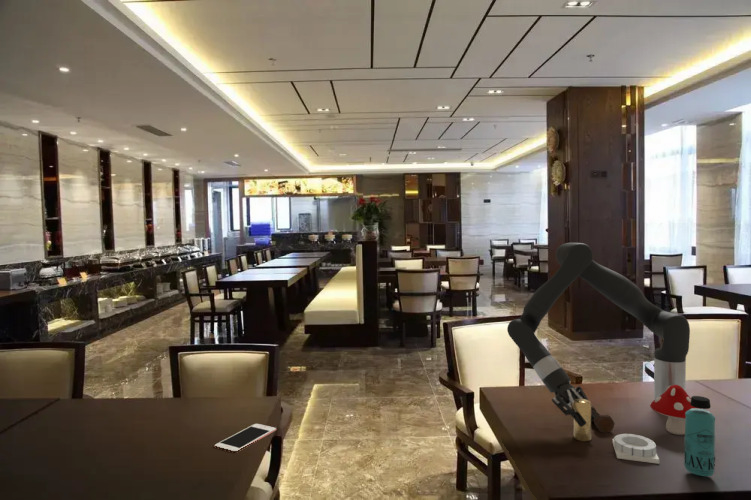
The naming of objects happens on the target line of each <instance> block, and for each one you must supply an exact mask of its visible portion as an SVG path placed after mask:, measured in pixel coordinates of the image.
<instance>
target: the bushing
mask: <svg viewBox="0 0 751 500" xmlns="http://www.w3.org/2000/svg"><path fill="white" fill-rule="evenodd" d="M574 403H575V407H576V409H577V412H579V413H580V414H581V416H582V417H583V418H584V420H585V421H586V424H585V425H584V426H582V427H580V426H579V424H578V423H577V422H576V421H575V419H574V418H573V438H574V439H575V440H578V441H581V442H589V441H592V422H591V406H592V402H591V401H590V400H589V399H588V400H586V399H574Z"/></svg>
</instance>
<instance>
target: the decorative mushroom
mask: <svg viewBox="0 0 751 500" xmlns="http://www.w3.org/2000/svg"><path fill="white" fill-rule="evenodd" d="M690 403H691V396H690V395H689V394H688V393H687V391H686V392H685V390H684V389H683V388H682V387H681V386H679V385H671V386H669V387H667V389H666V391H665V392H664V393H663V394H662V395H660V396H659V397H658V398H656V399H655V400H654V399H653V400H652V401H651V403H650V404H649V406H650V408H651V409H652V410H653V411H655V413H657V414H661V415H663V416H665V417H667V421H666V424H665V429H666V431H668V433H670V434H673V435H677V436H682V435H683V436H684V435H685V417H686V415H685V413H686V411H688V410H690V409H692V408H696V407H693V406H691V404H690ZM698 409H701V408H698Z"/></svg>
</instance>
